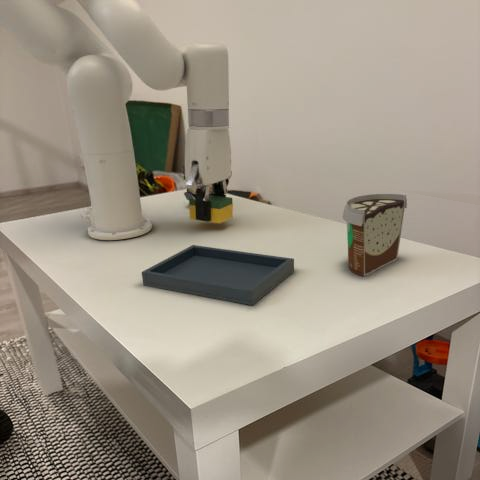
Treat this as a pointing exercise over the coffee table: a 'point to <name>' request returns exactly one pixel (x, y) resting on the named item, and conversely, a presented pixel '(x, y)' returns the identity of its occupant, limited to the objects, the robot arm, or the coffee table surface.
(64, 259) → the coffee table surface
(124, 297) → the coffee table surface
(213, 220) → the sponge
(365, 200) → the food container
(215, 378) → the coffee table surface
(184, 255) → the tray
